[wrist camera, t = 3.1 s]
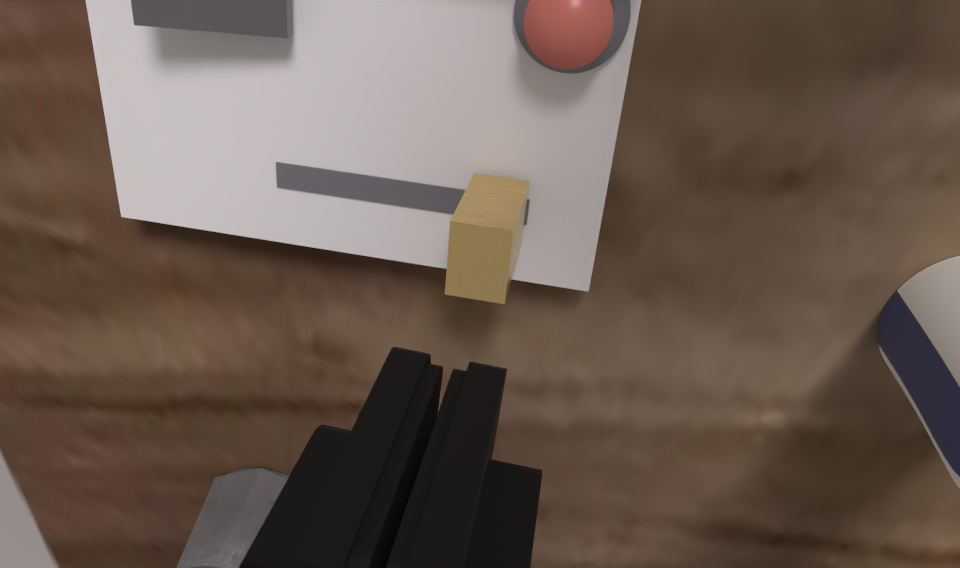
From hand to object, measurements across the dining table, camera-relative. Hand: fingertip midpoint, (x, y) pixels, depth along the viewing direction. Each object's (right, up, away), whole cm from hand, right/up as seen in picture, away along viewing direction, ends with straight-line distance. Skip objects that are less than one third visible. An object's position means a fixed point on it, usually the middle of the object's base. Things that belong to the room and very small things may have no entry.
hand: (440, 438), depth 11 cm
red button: (+4, +12, +18) cm, 22 cm away
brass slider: (+1, +5, +22) cm, 23 cm away
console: (-5, +12, +23) cm, 26 cm away
